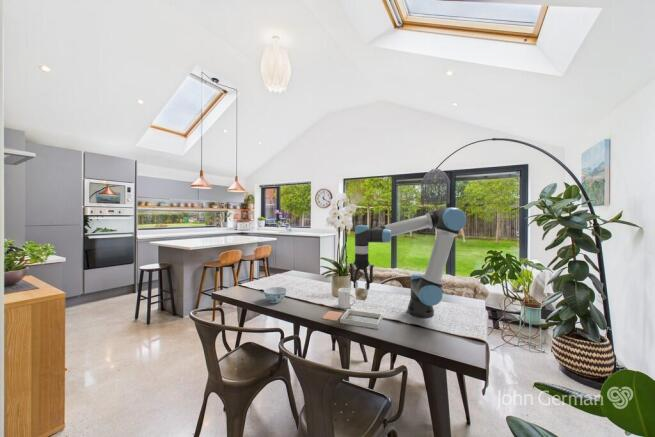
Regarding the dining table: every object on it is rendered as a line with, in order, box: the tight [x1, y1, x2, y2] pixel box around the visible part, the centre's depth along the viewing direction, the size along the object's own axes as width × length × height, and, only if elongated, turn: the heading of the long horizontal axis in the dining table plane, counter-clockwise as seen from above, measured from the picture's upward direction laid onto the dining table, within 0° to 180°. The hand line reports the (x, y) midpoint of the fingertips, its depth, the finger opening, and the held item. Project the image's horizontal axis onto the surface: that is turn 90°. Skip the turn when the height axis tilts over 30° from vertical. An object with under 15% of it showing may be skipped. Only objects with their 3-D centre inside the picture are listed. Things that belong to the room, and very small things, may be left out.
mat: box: [321, 310, 344, 322], centre depth 159 cm, size 9×12×1 cm
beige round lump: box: [355, 287, 368, 301], centre depth 152 cm, size 5×5×5 cm
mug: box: [337, 287, 356, 309], centre depth 173 cm, size 9×12×11 cm
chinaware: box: [263, 286, 287, 304], centre depth 183 cm, size 15×15×8 cm
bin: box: [339, 308, 384, 330], centre depth 153 cm, size 21×15×2 cm
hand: (361, 294), depth 152 cm, fingers closed on beige round lump, 5 cm apart
